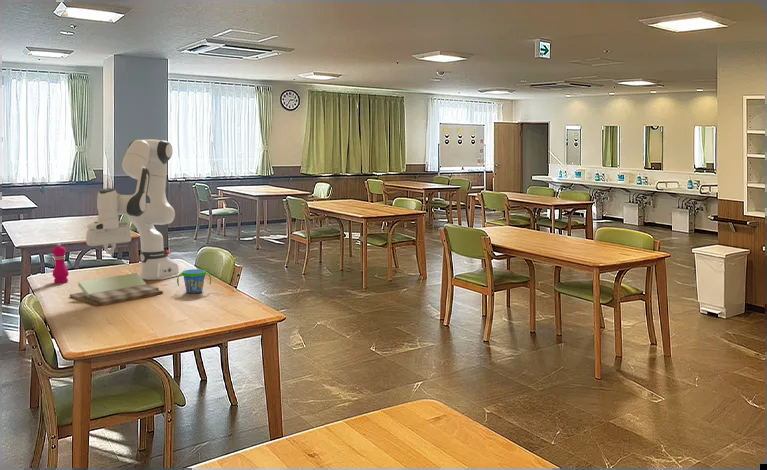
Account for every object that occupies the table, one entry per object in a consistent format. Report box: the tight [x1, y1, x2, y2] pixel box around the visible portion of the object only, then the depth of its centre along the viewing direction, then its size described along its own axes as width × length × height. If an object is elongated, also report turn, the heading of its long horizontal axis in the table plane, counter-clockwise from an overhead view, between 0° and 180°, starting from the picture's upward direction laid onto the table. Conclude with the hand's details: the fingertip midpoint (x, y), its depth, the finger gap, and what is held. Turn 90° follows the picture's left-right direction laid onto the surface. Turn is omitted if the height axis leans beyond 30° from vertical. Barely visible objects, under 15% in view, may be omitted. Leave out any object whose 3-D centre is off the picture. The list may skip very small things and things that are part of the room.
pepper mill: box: [52, 242, 69, 284], centre depth 328 cm, size 7×7×20 cm
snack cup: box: [176, 268, 212, 294], centre depth 310 cm, size 16×10×10 cm
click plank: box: [78, 272, 148, 298], centre depth 304 cm, size 28×10×2 cm, turn 140°
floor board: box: [69, 284, 164, 307], centre depth 303 cm, size 32×25×3 cm
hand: (110, 253), depth 303 cm, fingers closed
